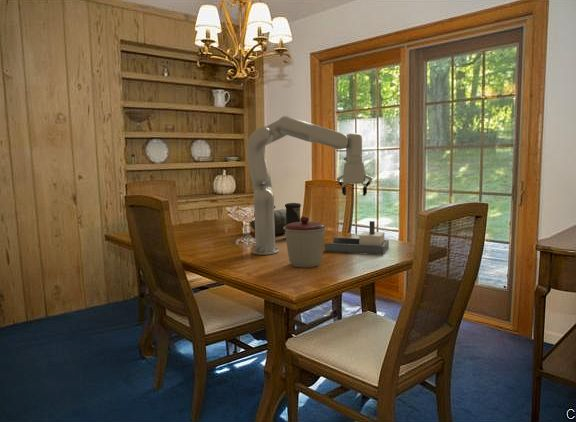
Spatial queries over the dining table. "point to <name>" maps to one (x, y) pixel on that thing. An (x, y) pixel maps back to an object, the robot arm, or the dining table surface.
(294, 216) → the container
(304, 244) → the canister
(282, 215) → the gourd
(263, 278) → the dining table surface
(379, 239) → the block with upright handle
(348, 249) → the bay
